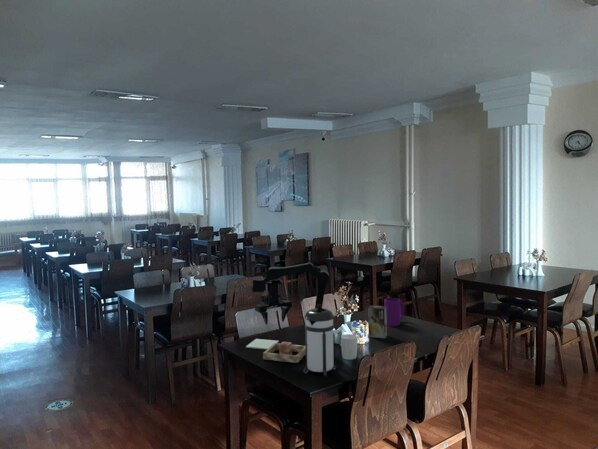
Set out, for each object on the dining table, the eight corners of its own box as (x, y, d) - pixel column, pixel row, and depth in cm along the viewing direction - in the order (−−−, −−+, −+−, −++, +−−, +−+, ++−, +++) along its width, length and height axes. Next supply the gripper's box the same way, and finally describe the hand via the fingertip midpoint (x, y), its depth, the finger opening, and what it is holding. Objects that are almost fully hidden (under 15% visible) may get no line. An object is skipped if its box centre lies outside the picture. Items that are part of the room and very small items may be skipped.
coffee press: (343, 375, 203) (342, 306, 201) (307, 379, 199) (306, 309, 197) (332, 361, 220) (331, 297, 217) (298, 364, 216) (297, 300, 214)
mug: (381, 324, 278) (381, 299, 277) (396, 319, 289) (396, 295, 288) (394, 327, 271) (394, 302, 270) (409, 322, 282) (409, 297, 281)
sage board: (278, 341, 249) (278, 340, 249) (269, 349, 237) (269, 348, 237) (256, 339, 253) (256, 338, 253) (246, 347, 241) (246, 346, 241)
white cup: (353, 361, 219) (353, 340, 219) (338, 358, 223) (338, 337, 223) (360, 356, 226) (360, 335, 225) (345, 353, 230) (345, 333, 229)
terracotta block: (291, 354, 230) (291, 342, 230) (288, 357, 225) (288, 345, 225) (283, 353, 231) (282, 341, 231) (279, 357, 227) (279, 344, 226)
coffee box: (387, 335, 258) (387, 306, 256) (385, 338, 252) (384, 309, 250) (370, 333, 261) (370, 305, 260) (368, 337, 255) (367, 307, 254)
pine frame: (307, 351, 233) (307, 346, 233) (297, 362, 218) (297, 356, 218) (274, 348, 238) (274, 342, 238) (262, 359, 224) (262, 353, 224)
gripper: (282, 287, 248) (283, 316, 249) (249, 292, 239) (251, 322, 240) (292, 290, 239) (293, 321, 240) (259, 296, 229) (260, 327, 231)
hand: (274, 323), depth 238 cm, fingers open, 9 cm apart
